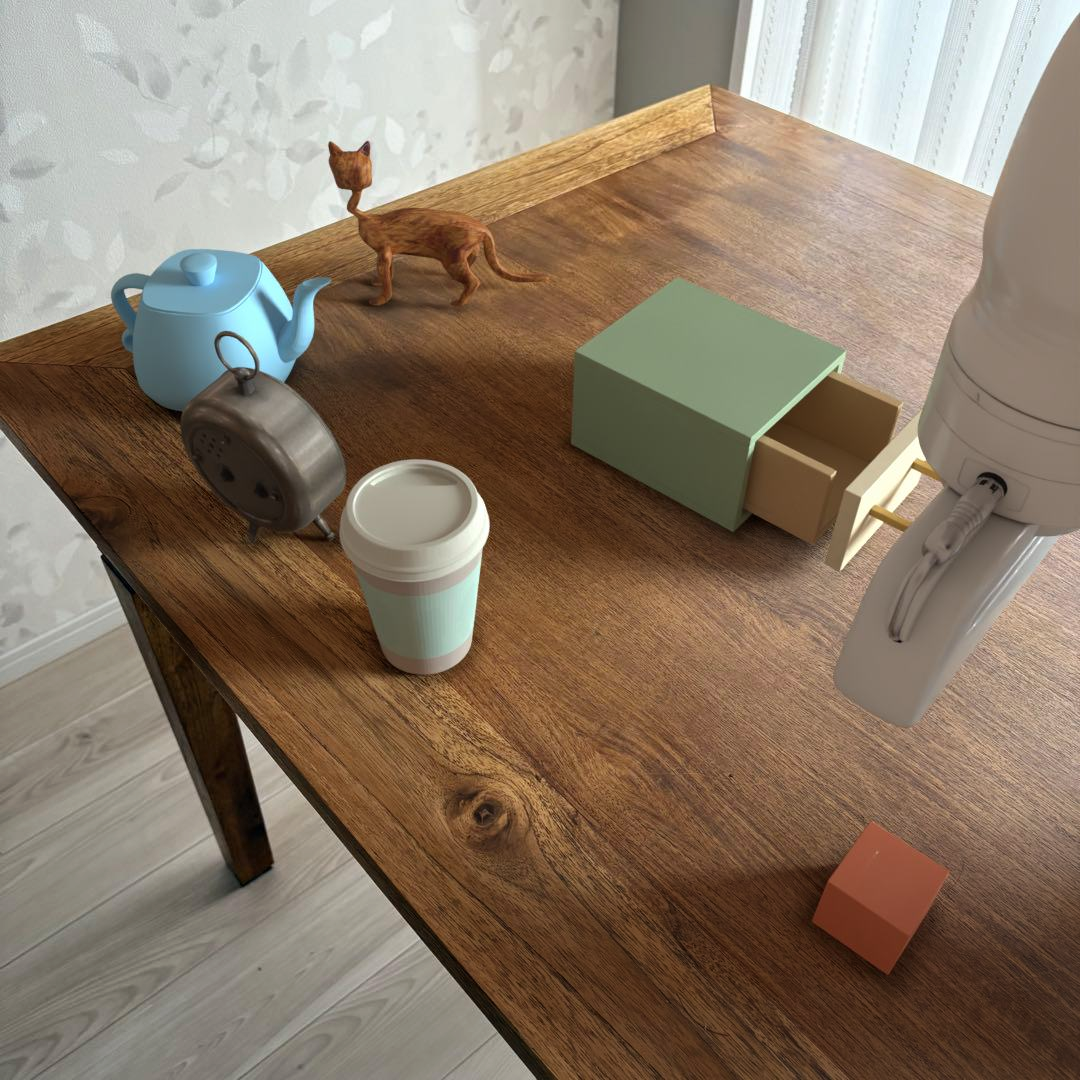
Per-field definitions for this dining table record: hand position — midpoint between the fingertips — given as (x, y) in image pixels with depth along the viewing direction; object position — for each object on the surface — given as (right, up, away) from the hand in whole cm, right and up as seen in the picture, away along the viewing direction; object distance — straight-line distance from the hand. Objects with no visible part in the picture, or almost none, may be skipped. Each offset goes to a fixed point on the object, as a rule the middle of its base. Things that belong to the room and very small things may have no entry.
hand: (946, 646), depth 52 cm
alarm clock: (-38, +6, +25) cm, 46 cm away
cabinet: (-7, +12, +32) cm, 35 cm away
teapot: (-43, +18, +37) cm, 60 cm away
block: (-2, -15, +5) cm, 16 cm away
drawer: (+1, +8, +26) cm, 28 cm away
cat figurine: (-27, +27, +46) cm, 60 cm away
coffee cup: (-26, -1, +18) cm, 32 cm away
